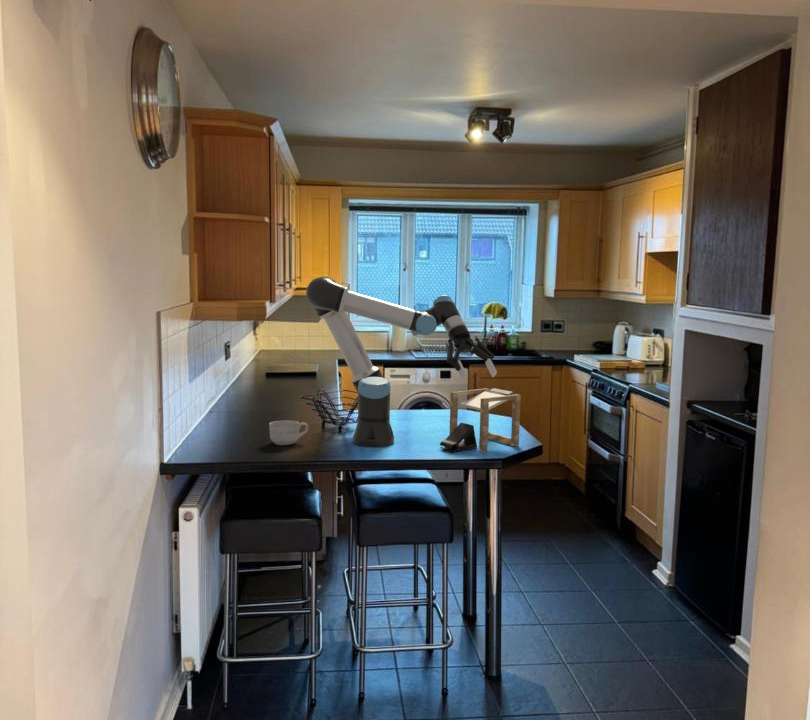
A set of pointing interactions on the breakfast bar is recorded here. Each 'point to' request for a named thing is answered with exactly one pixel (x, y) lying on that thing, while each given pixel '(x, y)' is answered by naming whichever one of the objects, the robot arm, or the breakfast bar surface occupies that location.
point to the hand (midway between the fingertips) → (479, 376)
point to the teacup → (286, 432)
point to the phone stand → (460, 438)
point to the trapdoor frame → (485, 418)
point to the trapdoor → (494, 392)
